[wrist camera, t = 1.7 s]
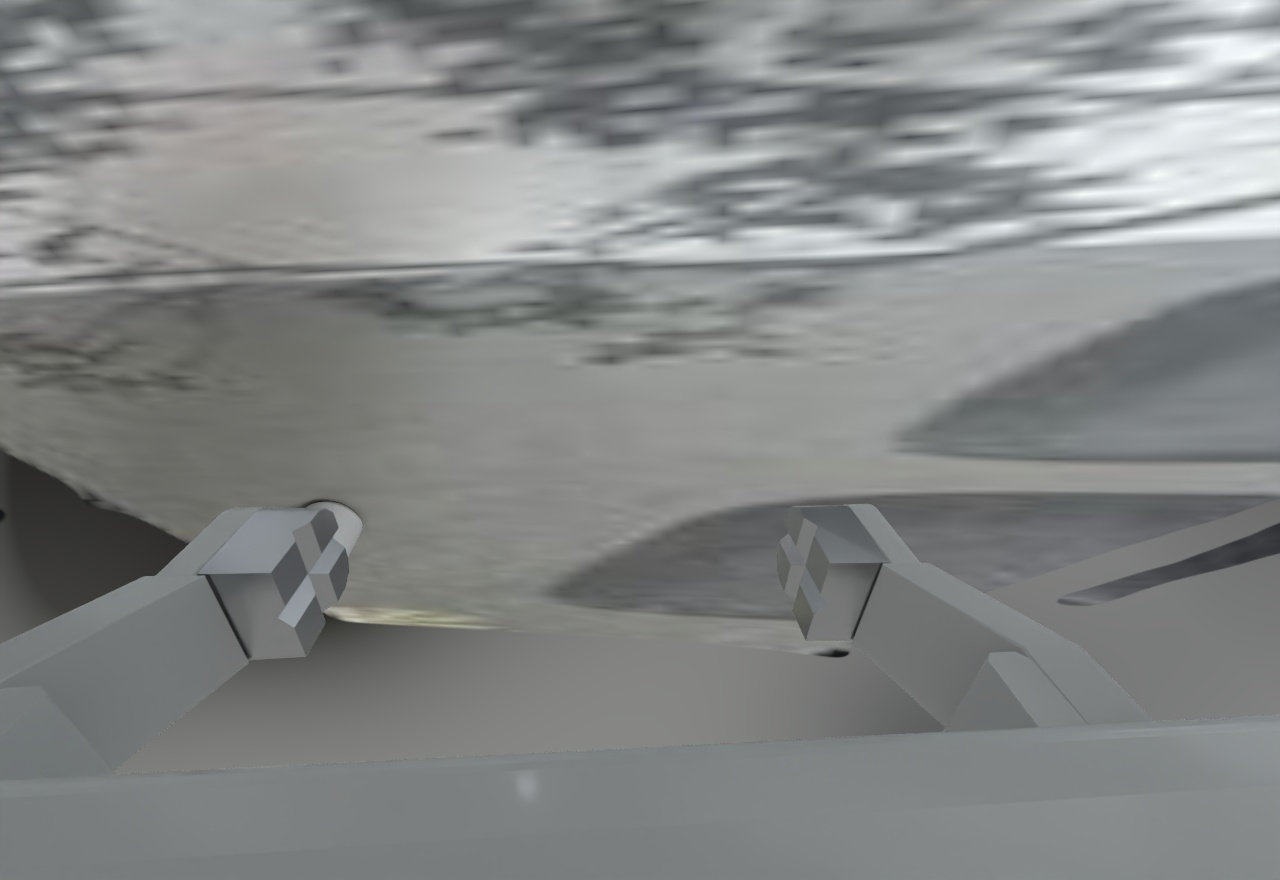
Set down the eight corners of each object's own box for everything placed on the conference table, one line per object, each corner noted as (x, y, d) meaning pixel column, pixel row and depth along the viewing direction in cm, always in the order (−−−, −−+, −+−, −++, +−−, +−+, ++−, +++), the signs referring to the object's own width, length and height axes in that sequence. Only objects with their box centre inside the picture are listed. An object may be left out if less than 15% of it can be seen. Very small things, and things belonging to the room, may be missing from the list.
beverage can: (344, 492, 56) (290, 584, 47) (376, 529, 60) (332, 620, 51) (293, 502, 57) (230, 595, 48) (328, 538, 61) (276, 630, 52)
